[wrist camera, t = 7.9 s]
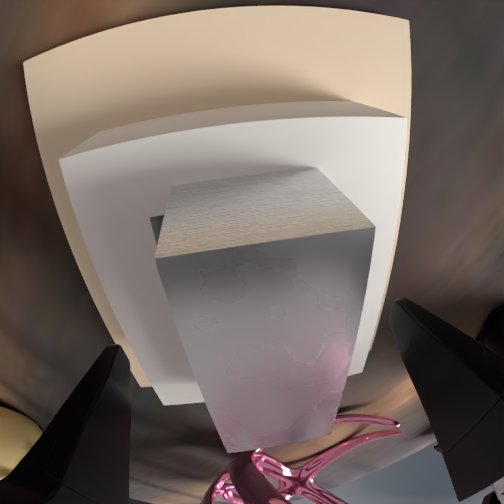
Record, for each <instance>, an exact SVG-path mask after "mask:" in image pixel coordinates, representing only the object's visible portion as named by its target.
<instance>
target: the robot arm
mask: <svg viewBox="0 0 504 504" xmlns="http://www.w3.org/2000/svg"><path fill="white" fill-rule="evenodd" d="M389 323H390V326H391V329H392V332H393V334H394V337H395V340H396V343H397V346H398V349H399V352H400V355H401V357H402V360H403V362H404V365H405V367H406V369H407V371H408V373H409V375H410V378H411V380H412V382H413V384H414V387H415V389H416V391H417V393H418V396H419V398H420V400H421V403H422V405H423V407H424V410H425V412H426V414H427V417H428V419H429V422H430V424H431V427H432V429H433V432H434V434H435V437H436V439H437V442H438V445H439V447H440V450H441V452H442V455H443V458H444V461H445V464H446V466H447V469H448V472H449V475H450V478H451V480H452V484H453V487H454V490H455V493H456V496H457V499H458V501H459V502H461V501H462V500H464V499H467V498H468V497H470V496H472V495H474V494H476V493H478V492H479V491H481V490H483V489H485V488H486V487H488V486H490V485H491V484H492V486H493V488H494V490H493V491H492V492H491V493H489V494H488V495H486V496H485V497H484V499H483V502H482V504H504V306H503V307H500V308H498V309H496V310H494V311H493V312H492V313H491V314H490V316H489V318H488V320H487V322H486V324H485V326H484V327H483V329H482V331H481V333H480V335H479V337H478V339H477V341H476V340H475V339H473V338H471V337H470V336H468V335H467V334H465V333H463V332H462V331H460V330H459V329H457V328H455V327H454V326H452V325H450V324H449V323H447V322H445V321H444V320H442V319H440V318H439V317H437V316H435V315H434V314H432V313H430V312H429V311H427V310H425V309H424V308H422V307H420V306H419V305H417V304H415V303H414V302H412V301H410V300H409V299H407V298H400V299H396V300H395V301H394V302H393V305H392V308H391V312H390V316H389ZM131 409H132V403H131V371H130V361H129V359H128V357H127V355H126V354H125V352H124V350H123V348H122V346H121V345H119V344H113V345H108V346H107V347H106V348H105V349H104V351H103V352H102V353H101V355H100V356H99V357H98V358H97V360H96V361H95V362H94V364H93V365H92V366H91V368H90V369H89V370H88V372H87V373H86V374H85V376H84V377H83V378H82V380H81V381H80V382H79V384H78V385H77V386H76V388H75V389H74V390H73V392H72V393H71V394H70V396H69V397H68V398H67V400H66V401H65V403H64V404H63V405H62V407H61V408H60V410H59V411H58V412H57V414H56V415H55V417H54V418H53V419H52V422H50V423H49V425H48V426H47V428H46V429H45V431H44V432H43V433H42V435H41V436H40V437H39V439H38V440H37V441H36V443H35V444H34V445H33V446H32V447H31V449H30V450H29V451H28V452H27V453H26V455H25V456H24V457H23V458H22V459H21V461H20V462H19V463H18V464H17V465H16V467H15V468H14V469H13V470H12V471H11V472H10V473H9V474H8V475H7V476H6V477H5V478H3V479H1V480H0V504H129V451H130V427H131Z"/></svg>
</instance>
